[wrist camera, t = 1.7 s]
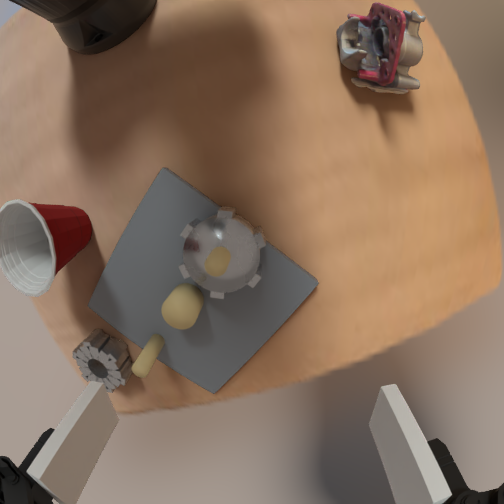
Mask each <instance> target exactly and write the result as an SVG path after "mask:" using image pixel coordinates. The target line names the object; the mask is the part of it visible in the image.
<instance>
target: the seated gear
mask: <svg viewBox="0 0 504 504" xmlns="http://www.w3.org/2000/svg"><path fill="white" fill-rule="evenodd" d="M180 236H182V237H183V238H184V239H186V240H185V243H184V247H183V260H184V261H183V262H182V263H181V264H180V265H179V266H178V267H179V269H180V271H181V273H182V275H183V277H184V279H185V278H188V277H190V276H191V278H192V279H193V280H194V281H195V282H196V283H197V284H198V285H200V286H201V287H203V288H205V289H207V290H210V291H211V293H210V297H212V298H219V299H224V297H225V293H228V292H233V291H236V290H238V289H241V288H242V287H244V286H245V285H247V284H248V285H249V286H251V287H252V288H254V286H255V285H256V284H257V283H258V281H259V280H260V279H261V278H262V265H260V264H259V262H260V248H262V247H264V246H266V237H265V235H264V232H263V230H262V228H261V226H258V227H256V228H254V227H253V226H252V224H251V223H250V222H249V221H247V220H246V219H245V218H243V217H241V216H239V215H236V208H235V207H227V206H223V207H222V208H220V209H219V210H218V213H217V214H214V215H212V216H210V217H208V218H206V219H205V220H204V221H200V220H199V219H198V218H196V219H195V220H193V221H191V222H190V223H188V224H187V225H186V227H185V228H184V230H183V231H182V233H181V234H180ZM216 247H225V248H226V249H228V250H229V252H230V254H231V259H230V262H229V265H228V267H227V270H226V272H225V273H224V274H223V275H221V276H218V277H215V276H211V275H210V274H208V273H207V271H206V270H205V266H204V264H205V260H206V259H207V257H208V256H209V254H210V253H211V252H212V250H213V249H214V248H216Z"/></svg>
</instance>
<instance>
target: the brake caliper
mask: <svg viewBox="0 0 504 504" xmlns="http://www.w3.org/2000/svg"><path fill="white" fill-rule="evenodd" d="M390 15H391V20H390ZM347 17H348V19H349V20H347V21H346V22H345V23H344V24H343V25H341V26H340V27H339V28H338V29H337V32H336V33H337V41H338V45H339V48H340V61H341V63H342V64H343V65H345V67H347V68H348V69H350V70H352V71H358V72H357V76H358V77H359V78H355V77H354V78H351V81H352V83H354V84H355V85H356V86H357V87H367V88H369V89H370V90H372V91H374V92H379V93H386V92H389V93H395V94H404V93H408V89H419V87H420V82H419V80H417V79H415V78H413V77H411V76H409V75H408V70H409V68H410V66H415V65H417V64H418V63H419V61H420V60H421V58H422V54H423V45H422V41H421V38H420V37H419V35H418V31H419V26H420V22H424V21H425V16H419V15H418V14H417V12H416V11H415V10H413V11H412V12H411V13H410V12H408V11H406V10H404V11H403V12H402V11H399V10H397V9H394V8H392V7H389V6H387V5H384V4H381V3H373V4H372V7H371V9H370V12H369V14H368V16H360V15H355V14H348V16H347Z"/></svg>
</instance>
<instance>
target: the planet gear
mask: <svg viewBox="0 0 504 504" xmlns="http://www.w3.org/2000/svg"><path fill="white" fill-rule="evenodd" d="M126 348H127V345H126V343H125V342H124V341H123V340H122V339H121V340H120V341H118V340H117V339H116V338H114V337H112V338H111V339H110V335H108V334H105V333H103V330H102V329H95V330H94V331H93V332H92V333H91V334H90V335H89V336H88V337H87V338H86V339H84V340H83V341H82V342H81V343H80V344H79V345H78V346H77V347H76V348H75V350H74V351H73V358H74V359H76V361H77V364H78V366H80V368H79V369H80V370H81V372H82V373H83V374H82V375H81V376H82V377H83V378H84V379H85V380H86V381H87V382H88V381H96V382H101V383H103V384H104V386H105V389H106V391H107V392H112V393H113V392H114V390H115V389H116V388H117V387H119V385H120V384H122V385H124V386H125V384H126V382H127V381H128V379H129V378H130V376H131V374H132V373H133V372H132V366H133V363H131V358H130V357H129V356H128V355H129V353H128V351H127V350H126Z"/></svg>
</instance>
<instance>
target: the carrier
mask: <svg viewBox="0 0 504 504" xmlns="http://www.w3.org/2000/svg"><path fill="white" fill-rule="evenodd" d="M220 208H221V207H220V206H219V205H217V204H216V203H215V202H213V201H212V200H211V199H209V198H208V197H206V196H205V195H204V194H202V193H201V192H200V191H198V190H197V189H195V188H194V187H193V186H191V185H190V184H189V183H187V182H186V181H184V180H183V179H182V178H180V177H179V176H178V175H176V174H175V173H173V172H172V171H171V170H169V169H168V168H162V169H161V171H160V173H159V174H158V176H157V177H156V179H155V180H154V182H153V183H152V185H151V187H150V188H149V190H148V191H147V193H146V195H145V196H144V198H143V200H142V201H141V203H140V205H139V206H138V208H137V210H136V211H135V213H134V215H133V216H132V218H131V220H130V222H129V223H128V225H127V227H126V229H125V231H124V232H123V234H122V236H121V238H120V240H119V242H118V244H117V245H116V247H115V249H114V251H113V253H112V255H111V257H110V259H109V261H108V263H107V265H106V267H105V269H104V271H103V273H102V275H101V277H100V279H99V281H98V284H97V286H96V288H95V290H94V292H93V295H92V297H91V299H90V301H89V304H88V307H89V308H91V309H92V310H93V311H94V312H95V313H97V314H98V315H99V316H100V317H101V318H103V319H104V320H105V321H106V322H108V323H109V324H110V325H111V326H113V327H114V328H115V329H116V330H118V331H119V332H120V333H122V334H123V335H124V336H126V337H127V338H128V339H130V340H131V341H132V342H134V343H135V344H136V345H138V346H139V347H141V348H142V349H143V350H142V352H141V353H140V355H139V356H138V358H137V359H136V361H135V362H134V364H133V366H132V372H133V373H134V374H135V375H136V376H138V377H140V378H145V377H146V376H147V375H148V373H149V371H150V369H151V367H152V365H153V364H154V362H155V360H156V359H158V360H159V361H161V362H162V363H164V364H165V365H167V366H168V367H170V368H172V369H173V370H175V371H176V372H178V373H179V374H181V375H183V376H184V377H186V378H187V379H189V380H191V381H192V382H194V383H196V384H197V385H199V386H201V387H202V388H204V389H206V390H208V391H209V392H211V393H213V394H214V393H215V392H216V391H218V390H219V389H220V388H221V387H222V386H223V385H224V384H225V383H226V382H227V381H228V380H229V379H230V378H231V377H232V376H233V375H234V374H235V373H236V372H237V371H238V370H239V369H240V368H241V367H242V366H243V365H244V364H245V363H246V362H247V361H248V360H249V359H250V358H251V357H252V356H253V355H254V354H255V353H256V352H257V351H258V350H259V349H260V348H261V347H262V346H263V344H264V343H265V342H266V341H267V340H268V339H269V338H270V337H271V336H272V335H273V334H274V333H275V332H276V331H277V330H278V329H279V327H280V326H281V325H282V324H283V323H284V322H285V321H286V320H287V319H288V318H289V317H290V315H291V314H292V313H293V312H294V311H295V310H296V309H297V308H298V307H299V305H300V304H301V303H302V302H303V301H304V300H305V299H306V297H307V296H308V295H309V294H310V293H311V292H312V291H313V289H314V288H315V287H316V286H317V285H318V284H319V283H318V281H317V279H316V278H315V277H313V276H312V275H311V274H309V273H308V272H307V271H306V270H304V269H303V268H302V267H300V266H299V265H298V264H296V263H295V262H294V261H292V260H291V259H290V258H288V257H287V256H286V255H284V254H283V253H282V252H281V251H279V250H278V249H277V248H275V247H274V246H273V245H271V244H270V243H269V242H267V241H266V246H264V247H262V248H260V262H259V264H260V265H262V278H261V279H260V280H259V281H258V283H257V284H256V285H255V286H254V288H252V287H251V286H249V285H248V284H247V285H245V286H244V287H242V288H241V289H238V290H236V291H233V292H228V293H225V297H224V299H219V298H212V297H210V293H211V291H210V290H207V289H205V288H203V287H201V286H200V285H198V284H197V283H196V282H195V281H194V280H193V279H192V278H191V276H190V277H188V278H185V279H184V277H183V275H182V273H181V271H180V269H179V267H178V266H179V265H180V264H181V263H182V262H183V261H184V260H183V247H184V243H185V240H186V239H184V238H183V237H182V236H180V234H181V233H182V231H183V230H184V228H185V227H186V225H187V224H188V223H190V222H191V221H193V220H195V219H196V218H198V219H199V220H200V221H204V220H205V219H206V218H208V217H210V216H212V215H214V214H217V213H218V210H219V209H220ZM230 259H231V254H230V252H229V250H228V249H226V248H225V247H216V248H214V249H213V250H212V252H211V253H210V254H209V256H208V257H207V259H206V260H205V264H204V266H205V270H206V271H207V273H208V274H210V275H211V276H215V277H218V276H221V275H223V274H224V273H225V272H226V270H227V267H228V265H229V262H230Z"/></svg>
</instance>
